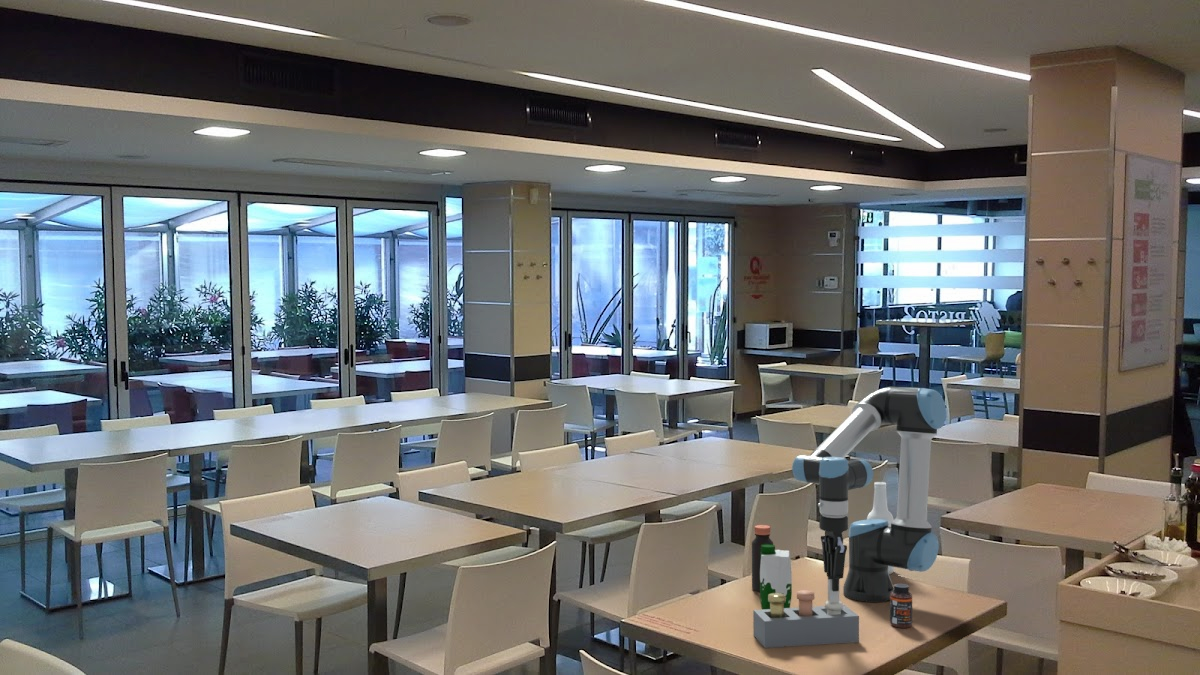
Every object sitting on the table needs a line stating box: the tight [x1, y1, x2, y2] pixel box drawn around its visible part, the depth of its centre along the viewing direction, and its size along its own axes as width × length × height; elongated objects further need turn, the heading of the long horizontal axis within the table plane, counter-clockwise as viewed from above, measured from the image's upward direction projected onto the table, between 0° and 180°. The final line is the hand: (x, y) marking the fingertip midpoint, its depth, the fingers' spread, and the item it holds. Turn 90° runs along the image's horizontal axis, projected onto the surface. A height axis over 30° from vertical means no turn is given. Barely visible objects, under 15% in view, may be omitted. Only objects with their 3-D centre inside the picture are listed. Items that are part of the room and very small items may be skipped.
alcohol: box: [866, 481, 895, 575], centre depth 336 cm, size 9×9×30 cm
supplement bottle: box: [889, 583, 913, 629], centre depth 280 cm, size 6×6×11 cm
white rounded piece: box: [824, 600, 844, 615], centre depth 271 cm, size 5×5×7 cm
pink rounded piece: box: [796, 589, 815, 617], centre depth 270 cm, size 5×5×7 cm
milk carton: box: [759, 544, 793, 610], centre depth 292 cm, size 9×9×20 cm
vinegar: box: [751, 524, 774, 593], centre depth 317 cm, size 7×7×20 cm
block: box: [752, 604, 860, 649], centre depth 270 cm, size 26×10×7 cm, turn 98°
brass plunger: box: [768, 593, 786, 618], centre depth 269 cm, size 5×5×7 cm
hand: (833, 601), depth 271 cm, fingers closed
